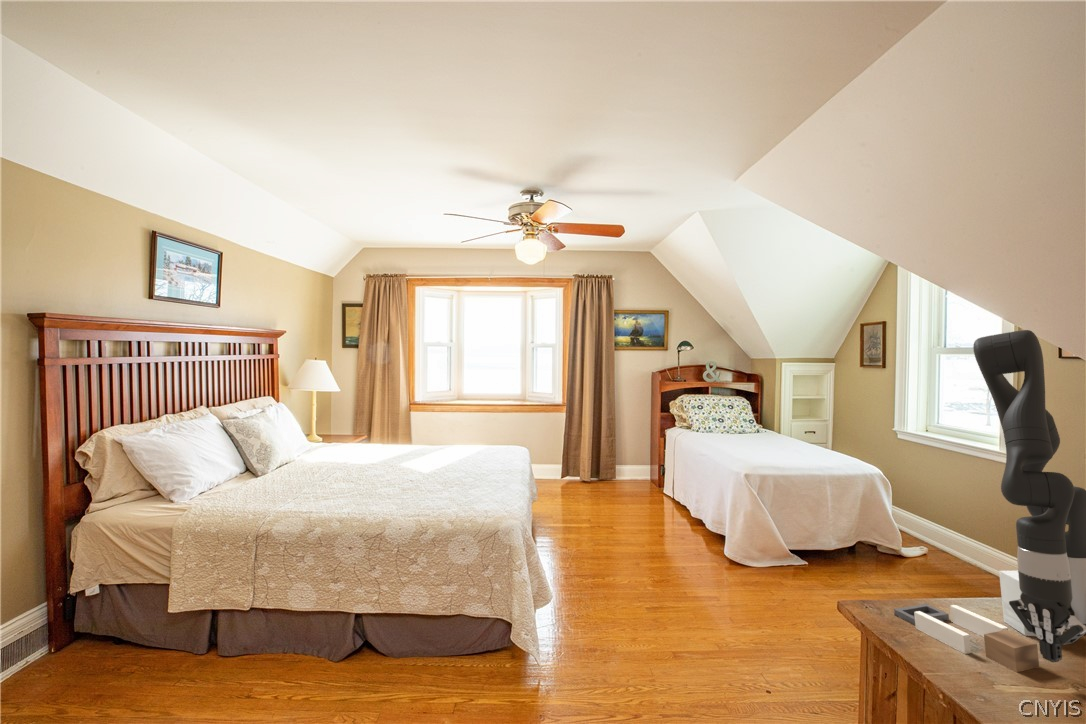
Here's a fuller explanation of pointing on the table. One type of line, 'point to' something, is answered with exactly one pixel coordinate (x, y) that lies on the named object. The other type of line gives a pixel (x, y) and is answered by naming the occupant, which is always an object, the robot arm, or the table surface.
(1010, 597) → the supplement box
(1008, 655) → the walnut block
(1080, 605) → the robot arm
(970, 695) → the table surface
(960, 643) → the white guide rails
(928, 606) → the frame
